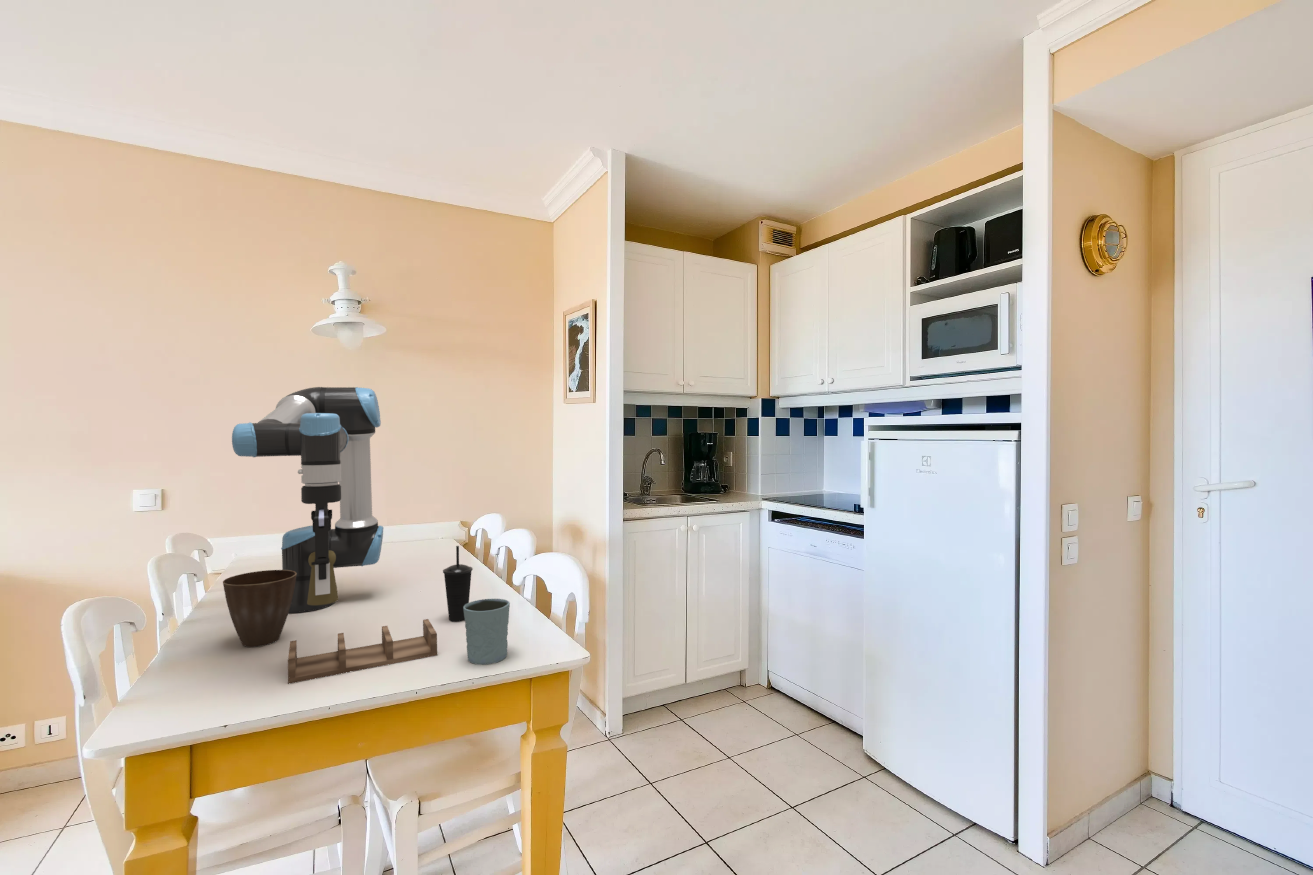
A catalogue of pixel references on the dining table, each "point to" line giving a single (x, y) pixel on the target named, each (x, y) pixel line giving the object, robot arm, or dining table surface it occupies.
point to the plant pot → (259, 604)
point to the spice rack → (361, 655)
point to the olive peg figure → (333, 594)
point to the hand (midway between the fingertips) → (323, 590)
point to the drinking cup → (457, 588)
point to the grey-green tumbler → (486, 630)
